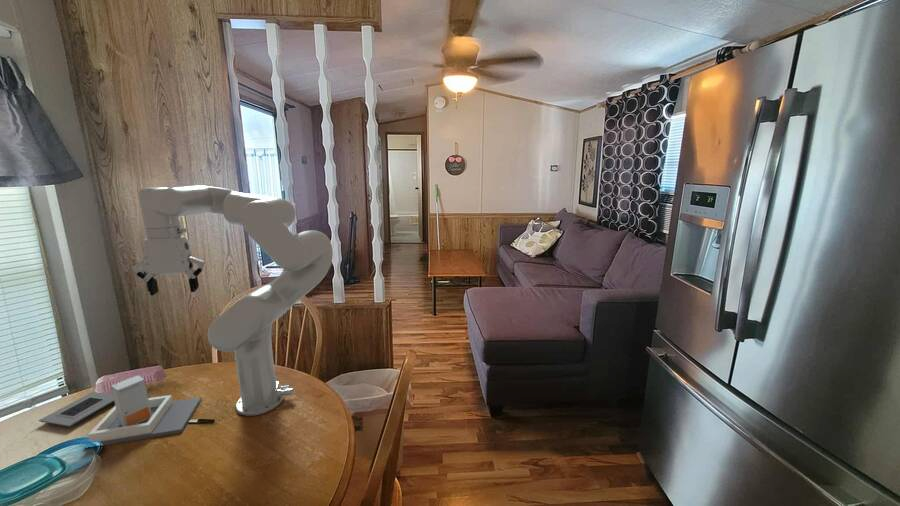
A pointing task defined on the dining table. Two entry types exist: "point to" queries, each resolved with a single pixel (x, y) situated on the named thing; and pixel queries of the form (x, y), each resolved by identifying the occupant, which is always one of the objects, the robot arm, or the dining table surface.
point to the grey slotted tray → (79, 409)
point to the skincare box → (131, 401)
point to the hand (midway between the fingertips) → (174, 292)
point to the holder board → (147, 421)
